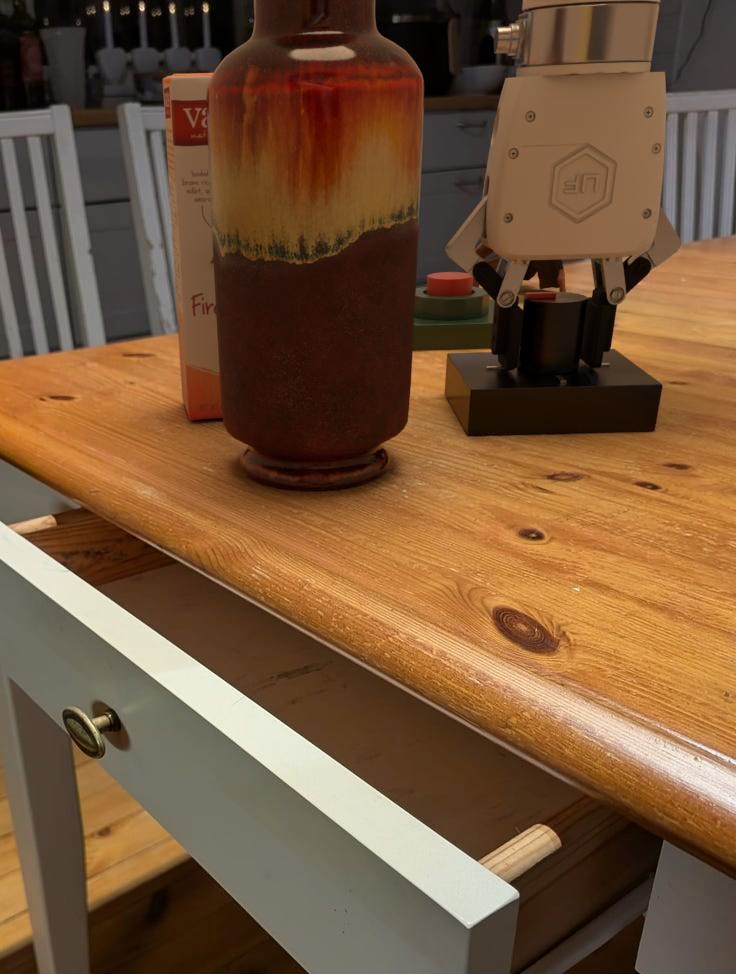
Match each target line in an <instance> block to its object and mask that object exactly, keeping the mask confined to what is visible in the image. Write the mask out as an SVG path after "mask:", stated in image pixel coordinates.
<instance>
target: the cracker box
mask: <svg viewBox="0 0 736 974" xmlns="http://www.w3.org/2000/svg"><path fill="white" fill-rule="evenodd" d="M213 73H214V72H197V73H173V74H172V75H167V76H165V77H163V78H162V93H163V107H164V108H163V109H164V120H165V121H164V123H165V138H166V139H165V140H166V155H167V174H168V189H169V191H168V192H169V206H170V222H171V224H170V225H171V239H172V257H173V272H174V288H175V290H174V291H175V304H176V305H175V306H176V320H177V332H178V333H177V336H178V351H179V368H180V383H181V397H182V401H183V405H184V407H185V410H186V413H187V416H188V419H189V420H190V421H197V420H212V419H213V420H214V419H223V415H222V403H221V390H220V373H219V354H218V336H217V317H216V299H215V280H214V261H213V240H212V220H211V200H210V180H209V159H208V138H207V105H206V92H207V86H208V83H209V80H210V78H211V77H212V75H213Z"/></svg>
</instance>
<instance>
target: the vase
mask: <svg viewBox="0 0 736 974" xmlns="http://www.w3.org/2000/svg"><path fill="white" fill-rule="evenodd" d="M376 20H377V19H376V0H253V28H252V33H251V36H250V37H249V39H248V40H247V41H245V42H244V43H242V44H241V45H239V46H238V47H236V48H235V49H234V50H232V51H231V52H229V53H228V54H227V55H225V57H224V58H223V59H222V60H221V61H220V63H219V64H218V66H217V67H216V68H215V69H214V71H213V72H212V73H213V75H212V77H211V78H210V80H209V83H208V86H207V92H206V105H207V138H208V159H209V180H210V200H211V220H212V240H213V261H214V280H215V299H216V317H217V336H218V354H219V373H220V390H221V403H222V415H223V418H222V424H223V427H224V429H225V430H226V432H227V433H228V434H229V435H230V436H231V437H232V438H234V439H236V440H237V441H239V442H241V443H243V444H245V445H247V447H246V448H245V450H244V451H242V452H243V453H242V454H241V457H240V469H241V471H242V472H243V474H244V475H245V476H246V477H247V478H249V479H251V480H252V481H254V482H256V483H260V484H263V485H266V486H269V487H274V488H279V489H287V490H297V491H331V490H341V489H346V488H352V487H356V486H361V485H365V484H367V483H371V482H373V481H375V480H378V479H379V478H381V477H383V476H384V475H385V474H386V473H387V472H389V471H388V470H389V469H390V466H391V456H390V452H389V451H388V450H387V448H386V447H385V446H384V443H386V442H388V441H390V440H392V439H393V438H395V437H396V436H398V435H400V434H401V432H402V431H404V430H405V428H406V426H407V424H408V422H409V414H410V413H409V412H410V401H411V400H410V398H411V389H412V372H413V371H412V370H413V353H414V351H413V333H414V314H415V295H416V288H417V274H418V270H417V269H418V254H419V253H418V252H419V251H418V250H419V230H420V211H421V189H422V167H423V166H422V165H423V145H424V121H425V119H424V118H425V117H424V116H425V79H424V77H423V74H422V72H421V70H420V68H419V66H418V65H417V63H416V61H415V60H414V58H413V57H412V56H411V55H410V54H409V53H408V51H407V50H405V48H403V47H401V46H400V45H398V44H397V43H395V42H394V41H392V40H390V39H389V38H386V37H384V36H383V35H381V33H380V32H379V30H378V28H377V22H376Z"/></svg>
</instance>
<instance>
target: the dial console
mask: <svg viewBox="0 0 736 974" xmlns="http://www.w3.org/2000/svg"><path fill="white" fill-rule="evenodd" d="M663 387H664V385H663V383H661V382H660V381H659V380H657V379H656V378H655V377H653V376H652V375H651V374H649V373H648V372H647V371H645V370H644V369H643V368H641V367H640V366H638V365H637V364H636V363H635V362H633V361H631V360H630V359H629V358H628V357H626V356H625V355H623V354H622V353H621V352H619V351H618V350H617V349H615V348H610V350H609V352H603V359H602V365H601V367H600V368H591V367H590V366H588V365H587V364H586V363H585V362H583V361H582V360H581V359H580V362H579V368H578V369H577V370H576V371H573V372H569V373H563V374H540V373H532V372H527V371H524V370H521V369H519V368H518V366H517V368H515V369H514V370H505V369H504V368H503V367H502V365H501V364H500V363H499V362H498V355H493V354H492V352H491V351H483V352H481V351H480V352H448V353H447V354H446V365H445V379H444V395H445V397H446V399H447V401H448V403H449V404H450V406H451V408H452V410H453V412H454V413H455V415H456V417H457V419H458V421H459V422H460V425H461V426H462V428H463V430H464V431H465V433H466V435H467V436H493V435H494V436H497V435H501V436H502V435H537V434H538V435H539V434H540V435H541V434H543V435H544V434H579V433H621V432H653V431H655V430H656V427H657V420H658V415H659V410H660V404H661V398H662V392H663Z"/></svg>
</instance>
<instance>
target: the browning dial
mask: <svg viewBox="0 0 736 974" xmlns="http://www.w3.org/2000/svg"><path fill="white" fill-rule="evenodd" d="M587 302H588V296H587V295H584V294H581V293H576V292H569V291H568V292H567V291H566V292H559V291H530V292H524V297H523V304H522V310H523V318H522V328H521V338H520V348H519V357H518V368H519V369H521V370H524V371H527V372H532V373H540V374H563V373H569V372H573V371H576V370H577V369H578V368H579V362H580V354H581V347H582V339H583V332H584V324H585V317H586V309H587Z"/></svg>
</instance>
